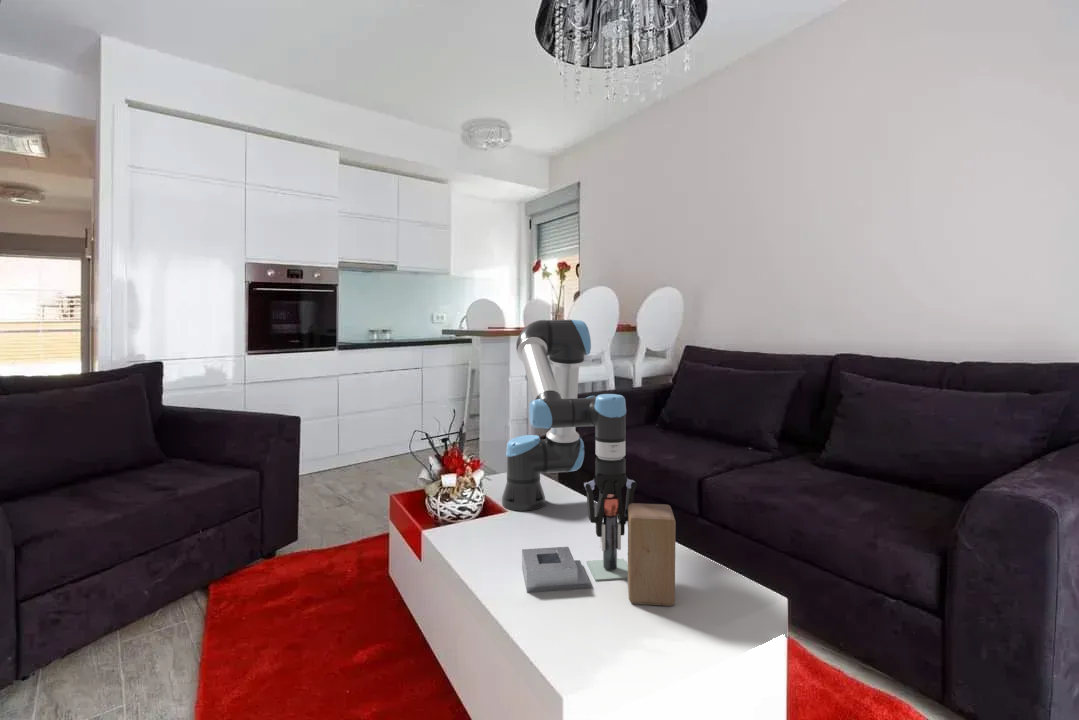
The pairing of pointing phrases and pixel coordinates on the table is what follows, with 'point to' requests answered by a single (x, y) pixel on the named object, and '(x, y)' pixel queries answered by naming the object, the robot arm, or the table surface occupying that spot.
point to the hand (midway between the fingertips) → (610, 547)
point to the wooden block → (651, 554)
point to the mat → (605, 574)
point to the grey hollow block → (552, 570)
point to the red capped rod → (610, 531)
